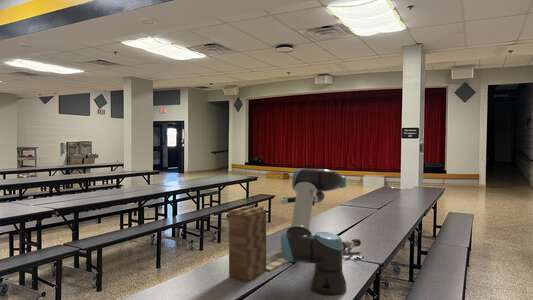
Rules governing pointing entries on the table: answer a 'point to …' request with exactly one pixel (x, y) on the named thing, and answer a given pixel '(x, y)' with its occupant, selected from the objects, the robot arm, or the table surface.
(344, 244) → the figurine
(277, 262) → the board
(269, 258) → the block
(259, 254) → the wooden rectangular column
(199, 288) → the table surface
